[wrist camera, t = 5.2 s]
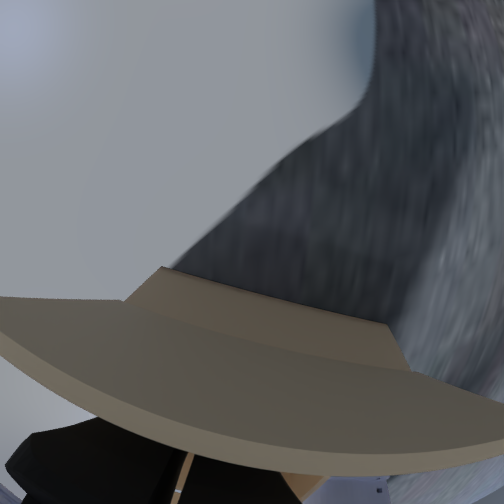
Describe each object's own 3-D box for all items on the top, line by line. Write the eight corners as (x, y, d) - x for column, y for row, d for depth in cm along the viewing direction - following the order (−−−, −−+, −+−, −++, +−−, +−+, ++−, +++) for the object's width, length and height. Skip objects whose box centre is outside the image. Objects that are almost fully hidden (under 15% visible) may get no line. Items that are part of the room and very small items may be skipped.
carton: (386, 324, 16) (413, 376, 11) (293, 469, 22) (292, 510, 17) (161, 266, 16) (119, 305, 12) (151, 435, 22) (133, 474, 17)
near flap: (415, 380, 11) (418, 372, 11) (553, 434, 3) (558, 420, 3) (116, 308, 11) (118, 299, 11) (-48, 312, 3) (-46, 293, 3)
